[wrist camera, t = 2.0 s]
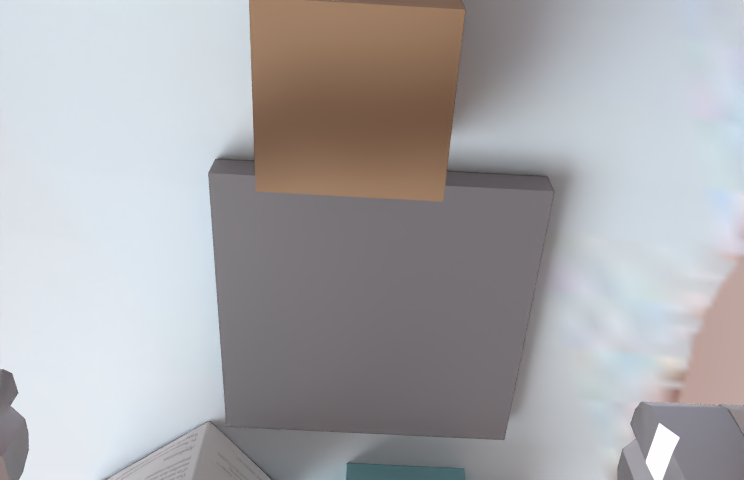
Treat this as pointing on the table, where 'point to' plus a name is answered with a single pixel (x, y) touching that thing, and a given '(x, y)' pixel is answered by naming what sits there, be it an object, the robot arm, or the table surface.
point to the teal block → (401, 472)
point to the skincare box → (195, 460)
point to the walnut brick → (354, 95)
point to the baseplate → (375, 304)
